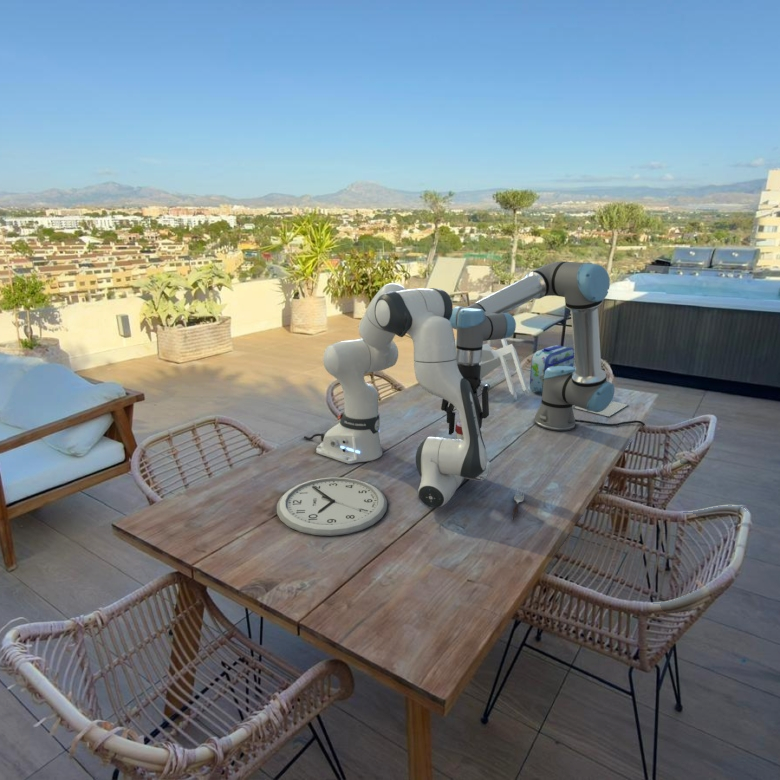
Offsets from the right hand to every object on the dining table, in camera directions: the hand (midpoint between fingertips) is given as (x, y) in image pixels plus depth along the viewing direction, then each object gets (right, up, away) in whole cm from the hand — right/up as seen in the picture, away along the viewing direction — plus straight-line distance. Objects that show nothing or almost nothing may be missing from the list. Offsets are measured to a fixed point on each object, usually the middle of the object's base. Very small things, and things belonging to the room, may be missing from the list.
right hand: (463, 435), depth 159 cm
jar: (0, -12, +4) cm, 13 cm away
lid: (0, +3, -1) cm, 3 cm away
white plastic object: (+20, +13, +84) cm, 88 cm away
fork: (+13, -18, -16) cm, 27 cm away
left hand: (0, -6, +3) cm, 7 cm away
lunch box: (+54, +14, +89) cm, 105 cm away
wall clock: (-38, -18, -16) cm, 45 cm away
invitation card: (+69, +7, +68) cm, 97 cm away
